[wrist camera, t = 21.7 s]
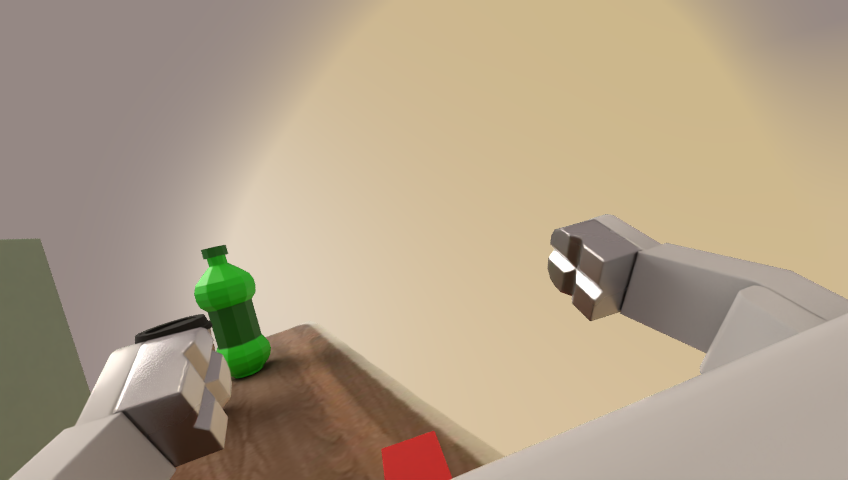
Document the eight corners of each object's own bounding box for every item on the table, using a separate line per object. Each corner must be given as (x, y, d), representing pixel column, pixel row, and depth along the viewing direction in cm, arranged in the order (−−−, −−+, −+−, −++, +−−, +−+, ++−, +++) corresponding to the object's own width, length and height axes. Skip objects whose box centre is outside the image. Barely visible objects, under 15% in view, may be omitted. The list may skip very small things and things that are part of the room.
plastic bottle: (284, 355, 76) (252, 239, 74) (259, 379, 66) (221, 244, 64) (239, 364, 77) (206, 250, 75) (207, 390, 66) (168, 257, 64)
